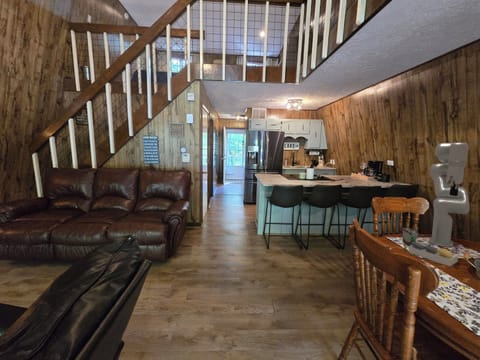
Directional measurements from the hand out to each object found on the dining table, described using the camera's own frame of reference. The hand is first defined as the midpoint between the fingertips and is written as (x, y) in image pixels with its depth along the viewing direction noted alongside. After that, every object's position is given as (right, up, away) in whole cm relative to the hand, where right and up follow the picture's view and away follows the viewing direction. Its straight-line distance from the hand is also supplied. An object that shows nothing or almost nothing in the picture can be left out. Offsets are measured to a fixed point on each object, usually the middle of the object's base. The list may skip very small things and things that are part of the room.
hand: (453, 195), depth 131 cm
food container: (-9, -35, +21) cm, 42 cm away
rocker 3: (-9, -34, -4) cm, 35 cm away
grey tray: (-10, -37, +3) cm, 39 cm away
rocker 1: (-16, -32, +7) cm, 37 cm away
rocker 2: (-13, -33, +2) cm, 35 cm away
